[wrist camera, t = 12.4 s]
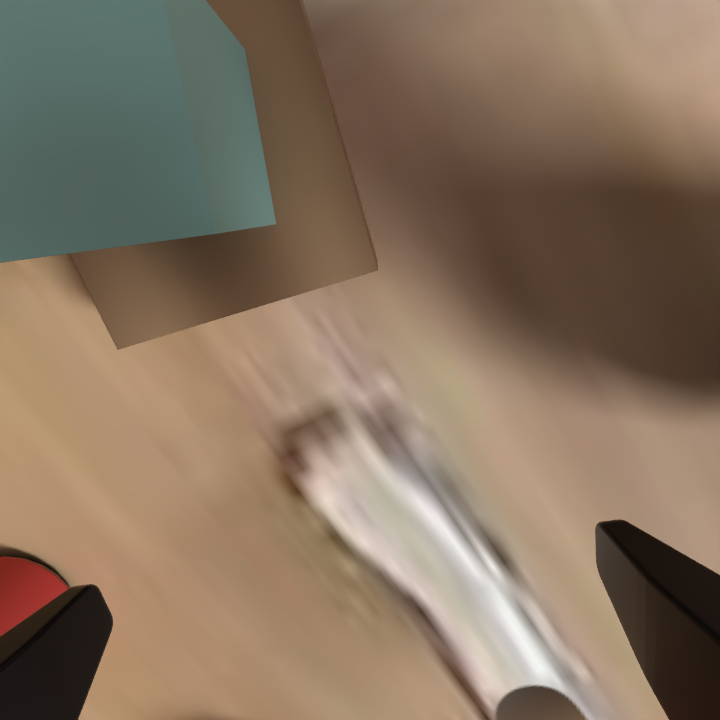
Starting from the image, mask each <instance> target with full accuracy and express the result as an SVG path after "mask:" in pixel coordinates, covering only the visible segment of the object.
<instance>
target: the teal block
mask: <svg viewBox="0 0 720 720" xmlns="http://www.w3.org/2000/svg"><path fill="white" fill-rule="evenodd" d="M274 224H276V219H275V214H274V208H273V203H272V197H271V192H270V186H269V181H268V175H267V169H266V164H265V158H264V153H263V147H262V142H261V136H260V130H259V125H258V119H257V114H256V108H255V103H254V97H253V91H252V86H251V80H250V75H249V69H248V64H247V58H246V52H245V49H244V47H243V46H242V45H241V44H240V42H239V41H238V40H237V39H236V37H235V36H234V35H233V34H232V32H231V31H230V30H229V29H228V27H227V26H226V25H225V24H224V22H223V21H222V20H221V19H220V17H219V16H218V15H217V14H216V12H215V11H214V10H213V9H212V7H211V6H210V5H209V4H208V2H207V1H206V0H0V263H1V262H9V261H16V260H24V259H31V258H39V257H46V256H54V255H61V254H69V253H76V252H84V251H91V250H99V249H106V248H113V247H121V246H128V245H136V244H143V243H151V242H158V241H166V240H173V239H181V238H188V237H196V236H203V235H211V234H218V233H224V232H230V231H237V230H243V229H249V228H255V227H262V226H268V225H274Z"/></svg>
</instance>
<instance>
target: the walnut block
mask: <svg viewBox="0 0 720 720" xmlns="http://www.w3.org/2000/svg"><path fill="white" fill-rule="evenodd" d="M206 1H207V2H208V4H209V5H210V6H211V7H212V9H213V10H214V11H215V12H216V14H217V15H218V16H219V17H220V19H221V20H222V21H223V22H224V24H225V25H226V26H227V27H228V29H229V30H230V31H231V32H232V34H233V35H234V36H235V37H236V39H237V40H238V41H239V42H240V44H241V45H242V46H243V47H244V49H245V52H246V58H247V64H248V69H249V75H250V80H251V86H252V91H253V97H254V103H255V108H256V114H257V119H258V125H259V130H260V136H261V142H262V147H263V153H264V158H265V164H266V169H267V175H268V181H269V186H270V192H271V197H272V203H273V208H274V214H275V219H276V224H274V225H268V226H262V227H255V228H249V229H243V230H237V231H230V232H224V233H218V234H211V235H203V236H196V237H188V238H181V239H173V240H166V241H158V242H151V243H143V244H136V245H128V246H121V247H113V248H106V249H99V250H91V251H84V252H76V253H69V254H70V256H71V258H72V260H73V262H74V264H75V266H76V268H77V270H78V272H79V274H80V276H81V278H82V280H83V282H84V284H85V286H86V288H87V290H88V292H89V294H90V296H91V298H92V300H93V302H94V304H95V306H96V308H97V310H98V312H99V314H100V316H101V318H102V320H103V322H104V324H105V326H106V328H107V330H108V332H109V334H110V336H111V338H112V340H113V342H114V344H115V346H116V348H117V350H118V349H122V348H125V347H128V346H131V345H135V344H138V343H141V342H144V341H148V340H151V339H154V338H158V337H161V336H164V335H167V334H171V333H174V332H177V331H180V330H184V329H187V328H190V327H194V326H197V325H200V324H203V323H207V322H210V321H213V320H216V319H220V318H223V317H226V316H230V315H233V314H236V313H239V312H243V311H246V310H249V309H252V308H256V307H259V306H262V305H266V304H269V303H272V302H275V301H279V300H282V299H285V298H288V297H292V296H295V295H298V294H302V293H305V292H308V291H311V290H315V289H318V288H321V287H324V286H328V285H331V284H334V283H338V282H341V281H344V280H347V279H351V278H354V277H357V276H360V275H364V274H367V273H370V272H374V271H377V270H378V265H377V257H376V253H375V250H374V246H373V243H372V239H371V236H370V233H369V229H368V226H367V222H366V219H365V215H364V212H363V208H362V205H361V201H360V198H359V194H358V191H357V188H356V184H355V181H354V177H353V174H352V170H351V167H350V163H349V160H348V156H347V153H346V149H345V146H344V143H343V139H342V136H341V132H340V129H339V125H338V122H337V118H336V115H335V111H334V108H333V104H332V101H331V98H330V94H329V91H328V87H327V84H326V80H325V77H324V73H323V70H322V66H321V63H320V59H319V56H318V53H317V49H316V46H315V42H314V39H313V35H312V32H311V28H310V25H309V21H308V18H307V14H306V11H305V8H304V4H303V1H302V0H206Z"/></svg>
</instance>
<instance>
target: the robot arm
mask: <svg viewBox="0 0 720 720" xmlns="http://www.w3.org/2000/svg"><path fill="white" fill-rule="evenodd" d="M595 537H596V563H597V568H598V572H599V575H600V577H601V580H602V582H603V584H604V586H605V589H606V591H607V593H608V595H609V598H610V600H611V602H612V604H613V606H614V609H615V611H616V613H617V615H618V618H619V620H620V622H621V624H622V627H623V629H624V631H625V633H626V636H627V638H628V640H629V642H630V645H631V647H632V649H633V651H634V654H635V656H636V658H637V660H638V662H639V664H640V667H641V669H642V671H643V673H644V675H645V677H646V679H647V681H648V683H649V684H650V686H651V688H652V690H653V692H654V694H655V696H656V697H657V699H658V701H659V703H660V704H661V706H662V708H663V710H664V711H665V713H666V715H667V717H668V719H669V720H720V575H719V574H717V573H715V572H714V571H712V570H710V569H708V568H707V567H705V566H703V565H702V564H700V563H698V562H696V561H695V560H693V559H691V558H689V557H688V556H686V555H684V554H682V553H681V552H679V551H677V550H675V549H674V548H672V547H670V546H669V545H667V544H665V543H663V542H662V541H660V540H658V539H656V538H655V537H653V536H651V535H649V534H648V533H646V532H644V531H643V530H641V529H639V528H637V527H636V526H634V525H632V524H630V523H629V522H627V521H624V520H611V521H603V522H599V523H598V524H597V525H596V528H595ZM112 626H113V618H112V615H111V612H110V610H109V608H108V606H107V604H106V602H105V600H104V598H103V596H102V594H101V592H100V590H99V588H98V587H97V586H95V585H92V584H89V585H80V586H74V587H71V588H69V589H68V590H66V591H65V592H63V593H62V594H60V595H59V596H57V597H56V598H55V599H53V600H52V601H50V602H49V603H47V604H46V605H44V606H43V607H42V608H40V609H39V610H37V611H36V612H34V613H33V614H32V615H30V616H29V617H27V618H26V619H24V620H23V621H22V622H20V623H19V624H17V625H16V626H14V627H13V628H11V629H10V630H9V631H7V632H6V633H4V634H3V635H1V636H0V720H78V718H79V715H80V713H81V710H82V708H83V705H84V703H85V700H86V697H87V695H88V692H89V689H90V687H91V684H92V681H93V679H94V676H95V673H96V671H97V668H98V666H99V663H100V660H101V658H102V655H103V652H104V650H105V647H106V644H107V642H108V639H109V636H110V634H111V631H112Z"/></svg>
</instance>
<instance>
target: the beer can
mask: <svg viewBox="0 0 720 720" xmlns="http://www.w3.org/2000/svg"><path fill="white" fill-rule="evenodd" d="M68 589H69V586H68V585H67V584H66V583H65V582H64V581H63V580H62V579H61V578H60V577H59V576H58V574H56V573H55V572H53V571H52V570H50V569H49V568H47V567H45V566H44V565H42V564H39V563H37V562H34V561H31V560H28V559H26V558H19V557H10V556H3V557H0V636H1V635H3V634H4V633H6V632H7V631H9V630H10V629H11V628H13V627H14V626H16V625H17V624H19V623H20V622H22V621H23V620H24V619H26V618H27V617H29V616H30V615H32V614H33V613H34V612H36V611H37V610H39V609H40V608H42V607H43V606H44V605H46V604H47V603H49V602H50V601H52V600H53V599H55V598H56V597H57V596H59V595H60V594H62V593H63V592H65V591H66V590H68Z"/></svg>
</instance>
